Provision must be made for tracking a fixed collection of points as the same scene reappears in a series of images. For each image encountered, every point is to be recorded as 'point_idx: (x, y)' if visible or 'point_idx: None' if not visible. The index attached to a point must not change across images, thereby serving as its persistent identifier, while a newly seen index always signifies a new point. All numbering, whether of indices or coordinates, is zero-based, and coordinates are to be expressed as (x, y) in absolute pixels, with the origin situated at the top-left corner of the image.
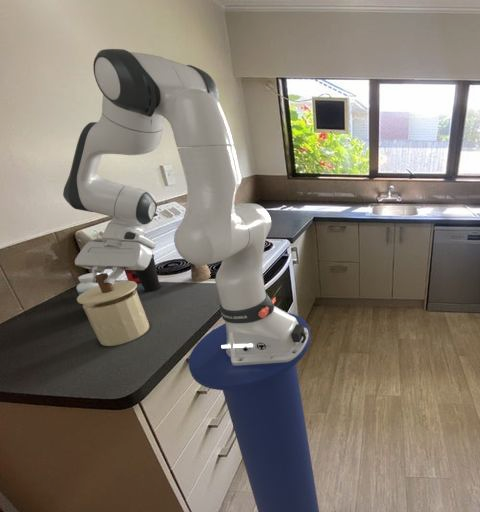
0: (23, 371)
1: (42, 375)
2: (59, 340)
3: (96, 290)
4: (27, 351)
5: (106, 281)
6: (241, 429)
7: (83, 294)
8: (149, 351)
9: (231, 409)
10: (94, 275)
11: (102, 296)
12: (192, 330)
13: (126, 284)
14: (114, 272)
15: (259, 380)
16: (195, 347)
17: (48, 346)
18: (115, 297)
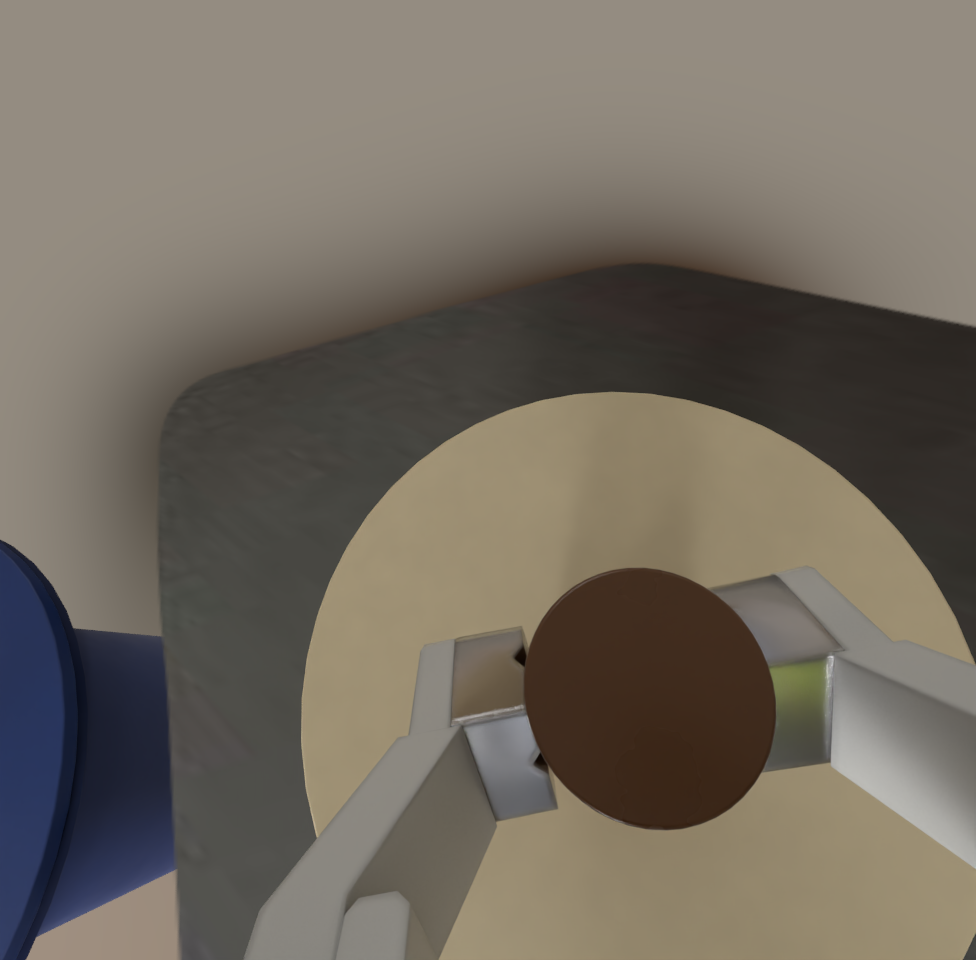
0: (729, 318)
1: (608, 337)
2: (926, 497)
3: None
4: (951, 385)
5: (456, 639)
6: (161, 636)
7: (818, 506)
8: (293, 596)
9: (124, 635)
10: (859, 652)
11: (496, 548)
12: (196, 836)
13: (578, 957)
14: (310, 848)
15: None
16: (55, 681)
17: (901, 445)
18: (329, 587)
